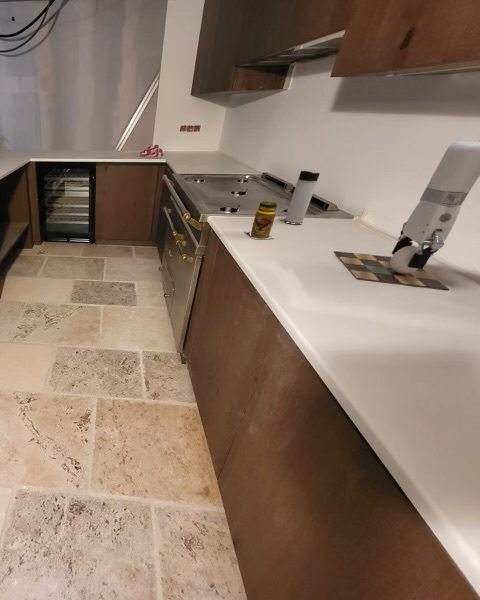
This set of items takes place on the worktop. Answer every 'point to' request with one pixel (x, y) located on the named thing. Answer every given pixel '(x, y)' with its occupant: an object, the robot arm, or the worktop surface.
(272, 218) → the condiment
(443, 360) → the worktop surface
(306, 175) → the travel mug
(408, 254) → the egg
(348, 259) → the checkerboard
